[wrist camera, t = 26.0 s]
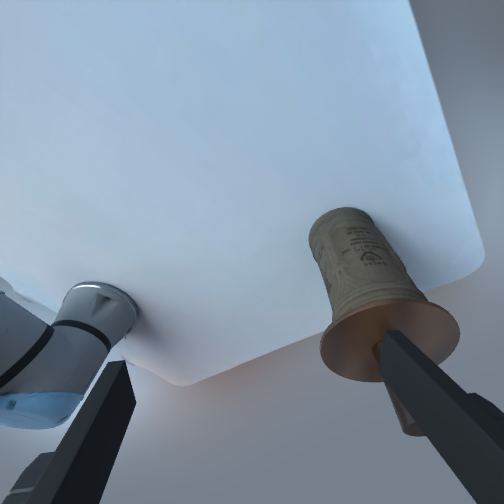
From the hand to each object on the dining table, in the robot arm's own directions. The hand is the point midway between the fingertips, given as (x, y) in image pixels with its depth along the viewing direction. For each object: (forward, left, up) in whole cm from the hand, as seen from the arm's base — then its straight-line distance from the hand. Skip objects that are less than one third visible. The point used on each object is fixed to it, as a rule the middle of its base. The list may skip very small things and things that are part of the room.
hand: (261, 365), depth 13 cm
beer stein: (+12, -14, -30) cm, 35 cm away
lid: (+12, -14, -10) cm, 21 cm away
